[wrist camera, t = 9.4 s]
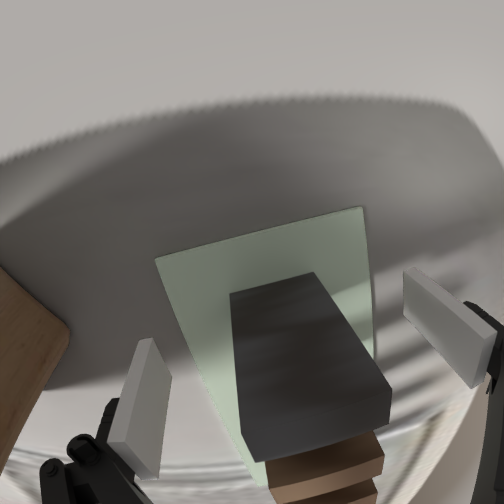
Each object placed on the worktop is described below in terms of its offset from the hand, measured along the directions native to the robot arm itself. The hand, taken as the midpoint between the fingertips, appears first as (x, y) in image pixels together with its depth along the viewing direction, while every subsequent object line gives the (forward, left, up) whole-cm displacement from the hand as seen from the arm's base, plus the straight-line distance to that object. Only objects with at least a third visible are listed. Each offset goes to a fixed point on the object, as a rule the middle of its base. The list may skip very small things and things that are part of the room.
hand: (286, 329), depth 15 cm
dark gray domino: (0, 0, -4) cm, 4 cm away
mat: (0, -9, -4) cm, 10 cm away
